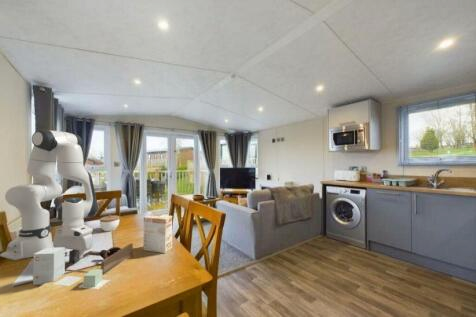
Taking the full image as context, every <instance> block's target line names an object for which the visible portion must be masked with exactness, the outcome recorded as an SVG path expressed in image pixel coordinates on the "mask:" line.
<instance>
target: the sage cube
mask: <svg viewBox="0 0 476 317" xmlns="http://www.w3.org/2000/svg"><path fill="white" fill-rule="evenodd" d="M102 279H103V275H102V269H99V268H98V269H97V268H96V269H91V270H89V272H88V273H84V275H83V283H84V287H95V286H96V285H97V284H99V283H100V282H101V281H102Z"/></svg>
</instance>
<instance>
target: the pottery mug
mask: <svg viewBox="0 0 476 317" xmlns="http://www.w3.org/2000/svg"><path fill="white" fill-rule="evenodd" d="M121 249H122V248H121V247H118V246H113V247H110V248H108V249H102V250H100V251H99V252H100V255H99V256H100V257H101V258H102V259H103V260H104V259H106V258H108V257H109V256H111V255H113V254H114V253H116V252H117V251H119V250H121Z"/></svg>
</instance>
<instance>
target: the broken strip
mask: <svg viewBox="0 0 476 317" xmlns="http://www.w3.org/2000/svg"><path fill="white" fill-rule="evenodd" d="M81 279H84V276H83V277H81V276H71V275H66V276H64V277H62V278H61V279H59V280H57V281H54V283H52V285H56V286H64V287H70V286H72V285H73V284H75V283H77V282H78V281H80V280H81ZM108 282H110V279H103V278H102V281H101V282H100V283H99V284H97V285H96V286H95V287H84V282H83V283H81V284H80V285H79V286H78V288H83V289H93V290H100V289H101V287H103V286H104V285H106V284H107V283H108Z"/></svg>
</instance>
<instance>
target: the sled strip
mask: <svg viewBox="0 0 476 317" xmlns="http://www.w3.org/2000/svg"><path fill="white" fill-rule="evenodd" d="M100 252H101V251H94V250H88V252H84V254H83V258H81V259H80V258H77V257H78V255H79V254H80V252H79V250H73V249H70V251H69V253H68V254H69V255H68V256H69V257H68V262H65V272H71V273H72V272H74V273H84V274H87V273H88V272H89V271H90V270H89V271H86V270H77V269H75V270H74V269H66V268H67V267H69V266H71V265H74V264H77V263H78V262H79V261H81V260H82V259H84V258H86V257H87V256H89V255H92V254H93V256H94V255H95V256H100ZM131 258H133V243H129V244H128V245H126V246H124V247H123V248H121V250H118V251H117V252H116V253H114V254H113V255H111V256H109V257H108V258H106V259H103V260H101V262H100V264H101V265H100V266H101V269H102V276H103V275H105V274H107V273H108V272H110V270H112V269H114V268H115V267H117V266H118V265H119V264H120V263H122V262H124V261H125V260H130V259H131Z"/></svg>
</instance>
